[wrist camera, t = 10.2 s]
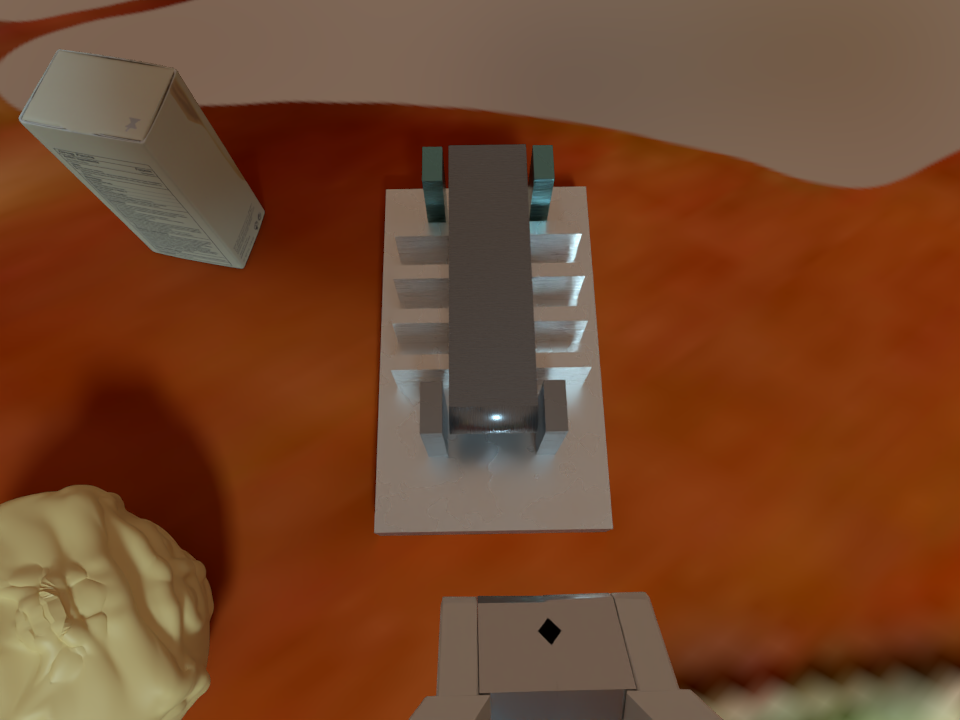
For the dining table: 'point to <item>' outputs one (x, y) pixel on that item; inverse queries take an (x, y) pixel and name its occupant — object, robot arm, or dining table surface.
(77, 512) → the sculpture
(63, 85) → the skincare box
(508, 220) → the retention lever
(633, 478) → the dining table surface
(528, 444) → the grey dish rack
